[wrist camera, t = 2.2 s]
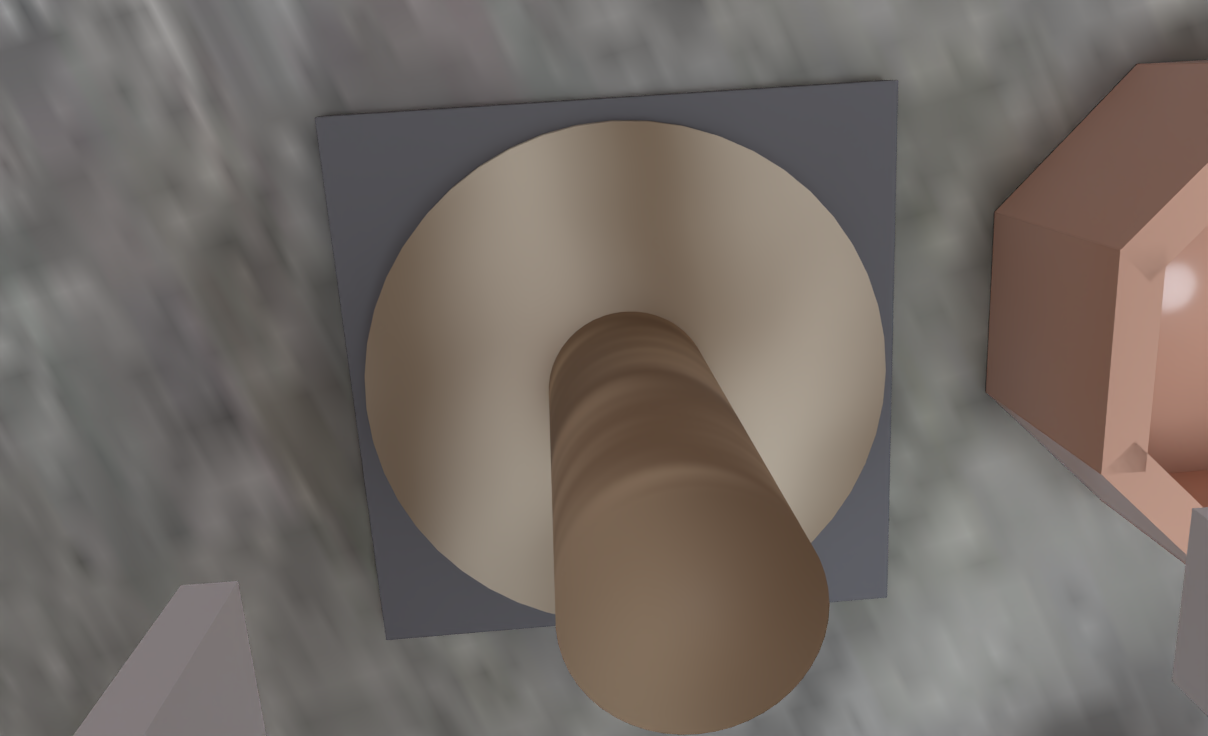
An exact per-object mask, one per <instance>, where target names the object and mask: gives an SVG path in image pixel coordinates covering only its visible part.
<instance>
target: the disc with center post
mask: <svg viewBox="0 0 1208 736" xmlns="http://www.w3.org/2000/svg"><path fill="white" fill-rule="evenodd" d="M885 375H886V363H885V342H884V334H883V328H882V323H881V318H880V312H879V307H878V303H877V300H876V297H875V294H874V291H873V288H872V285H871V282H870V279H869V276H868V274H867V272H866V270H865V268H864V266H863V264H862V262H861V260H860V258H859V256H858V254H857V252H856V250H855V248H854V246H853V244H852V243H851V241H850V240H849V238H848V237H847V235H846V234H845V232H844V231H843V229H842V228H841V227H840V225H839V224H838V222H837V221H836V219H835V218H834V216H833V215H832V214H831V213H830V212H829V211H828V210H827V209H826V208H825V207H824V206H823V204H822V203H821V202H820V201H819V200H818V199H817V198H816V197H815V196H814V195H813V194H812V192H811V191H809V190H808V189H807V188H806V187H804V186H803V185H802V184H801V183H800V182H798V181H797V180H796V179H795V178H794V177H792V176H791V175H790V174H789V173H788V172H786V171H785V170H784V169H782V168H781V167H779V166H777V165H776V164H774V163H772V162H771V161H769V160H768V159H766V158H764V157H763V156H761V155H759V154H758V153H756V152H754V151H752V150H750V149H748V148H745V147H743V146H741V145H739V144H736V143H734V142H732V141H729V140H727V139H725V138H723V137H720V136H717V135H714V134H710V133H707V132H703V131H700V130H696V129H693V128H689V127H686V126H682V125H676V124H669V123H662V122H654V121H647V120H610V121H602V122H595V123H587V124H579V125H574V126H571V127H567V128H563V129H559V130H556V131H552V132H548V133H545V134H542V135H539V136H537V137H534V138H532V139H530V140H527V141H525V142H523V143H520V144H518V145H516V146H513V147H511V148H509V149H507V150H505V151H504V152H502V153H500V154H499V155H497V156H495V157H494V158H492V159H490V160H489V161H487V162H485V163H483V164H482V165H480V166H479V167H477V168H476V169H475V170H474V171H472V172H471V173H470V174H469V175H467V176H466V177H465V178H463V179H462V180H461V181H460V182H458V183H457V184H456V185H455V186H453V187H452V188H451V189H450V190H449V191H448V192H447V193H446V194H445V195H444V196H443V198H442V199H441V200H440V201H439V202H438V203H437V204H436V205H435V206H434V207H433V208H432V209H431V210H430V211H429V212H428V213H427V214H426V216H425V217H424V218H423V220H422V221H421V222H420V224H419V225H418V226H417V228H416V229H415V231H414V232H413V233H412V235H411V236H410V237H409V239H408V240H407V242H406V243H405V244H404V246H403V247H402V249H401V251H400V253H399V255H398V257H397V258H396V260H395V262H394V264H393V266H392V268H391V270H390V271H389V273H388V275H387V277H386V280H385V282H384V285H383V288H382V290H381V293H380V296H379V299H378V301H377V304H376V307H375V309H374V314H373V318H372V323H371V327H370V332H369V337H368V341H367V351H366V364H365V392H366V408H367V414H368V419H369V424H370V429H371V434H372V439H373V443H374V446H375V448H376V451H377V454H378V457H379V460H380V463H381V466H382V468H383V471H384V474H385V475H386V477H387V479H388V481H389V483H390V485H391V487H392V489H393V491H394V493H395V495H396V497H397V499H398V501H399V502H400V504H401V505H402V507H403V508H404V510H405V511H406V512H407V514H408V515H409V517H410V518H411V520H412V521H413V522H414V524H415V525H416V527H417V528H418V529H419V530H420V531H421V532H422V533H423V535H424V536H425V537H426V538H427V539H428V540H429V541H430V542H431V543H432V544H433V546H434V547H435V548H436V549H437V550H438V551H439V552H440V553H441V554H443V555H444V556H445V557H446V558H447V559H449V560H450V561H451V562H452V563H453V564H454V565H456V566H457V567H458V568H459V569H460V570H462V571H463V572H464V573H466V574H467V575H469V576H471V577H472V578H474V579H475V580H477V581H478V582H480V583H481V584H483V585H484V586H486V587H487V588H489V589H491V590H493V591H495V592H497V593H499V594H501V595H503V596H505V597H507V598H510V599H512V600H514V601H516V602H518V603H521V604H524V605H527V606H530V607H533V608H535V609H538V610H541V611H544V612H547V613H552V614H555V620H556V633H557V639H558V644H559V648H560V651H561V654H562V657H563V660H564V662H565V664H566V666H567V668H568V670H569V672H570V674H571V675H572V677H573V678H574V680H575V681H576V683H577V684H578V686H579V687H580V688H581V689H582V690H583V691H584V693H585V694H586V695H587V696H588V697H589V698H590V699H591V700H592V701H593V702H595V703H596V704H597V705H598V706H599V707H601V708H602V709H603V710H605V711H606V712H608V713H610V714H611V715H613V716H614V717H616V718H618V719H620V720H622V721H624V722H626V723H629V724H631V725H634V726H637V727H640V728H643V729H646V730H650V731H655V732H660V733H667V734H679V735H684V734H702V733H708V732H715V731H719V730H723V729H727V728H730V727H733V726H736V725H739V724H741V723H744V722H746V721H749V720H751V719H753V718H754V717H756V716H758V715H760V714H762V713H764V712H765V711H767V710H768V709H770V708H771V707H773V706H774V705H776V704H777V703H778V702H780V701H781V700H782V699H783V698H784V697H785V696H787V695H788V694H789V693H790V692H791V691H792V690H793V689H794V688H795V687H796V685H797V684H798V683H799V682H800V681H801V680H802V679H803V677H804V676H805V674H806V673H807V672H808V670H809V669H810V667H811V666H812V664H813V662H814V660H815V658H816V656H817V655H818V653H819V650H820V648H821V645H822V642H823V640H824V637H825V633H826V628H827V624H828V617H829V590H828V585H827V580H826V575H825V572H824V569H823V566H822V564H821V561H820V559H819V557H818V555H817V553H816V551H815V549H814V548H813V546H812V544H811V542H812V541H813V540H814V539H815V538H816V537H817V536H818V535H819V533H820V532H821V531H822V530H823V529H824V528H825V527H826V525H827V524H828V523H829V522H830V521H831V520H832V519H833V517H834V516H835V514H836V513H837V511H838V510H839V508H840V507H841V506H842V504H843V503H844V501H845V500H846V498H847V497H848V495H849V494H850V492H851V491H852V489H853V487H854V485H855V483H856V481H857V479H858V477H859V475H860V473H861V471H862V469H863V467H864V465H865V463H866V460H867V458H868V455H869V452H870V449H871V447H872V444H873V441H874V438H875V436H876V432H877V428H878V423H879V419H880V414H881V410H882V405H883V398H884V386H885Z"/></svg>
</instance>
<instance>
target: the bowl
mask: <svg viewBox="0 0 1208 736" xmlns="http://www.w3.org/2000/svg"><path fill="white" fill-rule="evenodd" d="M994 213H995V217H994V237H993V258H992V278H991V299H990V319H989V339H988V360H987V380H986V393H987V394H989V395H990V396H991V397H992V398H993V399H994V400H995V401H996V402H997V403H998V404H999V405H1000V406H1001V407H1002V408H1004V409H1005V410H1006V411H1007V412H1008V413H1009V414H1010V415H1011V416H1012V417H1013V418H1014V419H1015V420H1016V421H1017V422H1018V423H1020V424H1021V425H1022V426H1023V427H1024V428H1025V429H1026V430H1027V431H1028V432H1029V433H1030V434H1031V435H1032V436H1033V437H1034V438H1036V439H1037V440H1038V441H1039V442H1040V443H1041V444H1042V445H1043V446H1044V447H1045V448H1046V449H1047V450H1048V451H1049V452H1050V453H1052V454H1053V455H1054V456H1055V457H1056V458H1057V459H1058V460H1059V461H1060V462H1061V463H1062V464H1063V465H1064V466H1065V467H1066V468H1068V469H1069V470H1070V471H1071V472H1072V473H1073V474H1074V475H1075V476H1076V477H1077V478H1078V479H1079V480H1080V481H1081V482H1082V483H1084V484H1085V485H1086V486H1087V487H1088V488H1089V489H1090V490H1091V491H1092V492H1093V493H1094V494H1095V495H1096V496H1097V497H1098V498H1100V500H1102V501H1103V502H1104V503H1105V504H1107V505H1108V506H1109V507H1111V508H1112V509H1113V510H1115V511H1116V512H1117V513H1119V514H1120V515H1121V516H1123V517H1124V518H1125V519H1126V520H1128V521H1129V522H1130V523H1132V524H1133V525H1134V526H1136V527H1137V528H1138V529H1140V530H1141V531H1142V532H1144V533H1145V534H1146V535H1148V536H1149V537H1150V538H1151V539H1153V540H1154V541H1155V542H1157V543H1158V544H1159V545H1161V546H1162V547H1163V548H1165V549H1166V550H1167V551H1169V552H1170V553H1171V554H1173V555H1174V556H1175V557H1176V558H1178V559H1179V560H1180V561H1182V562H1183V563H1184V564H1186V557H1187V549H1188V540H1189V532H1190V524H1191V515H1192V508H1202V507H1208V60H1194V61H1179V62H1163V63H1147V64H1137V65H1136V66H1135V67H1134V68H1133V69H1132V70H1131V71H1130V72H1129V73H1128V74H1127V75H1126V76H1125V77H1124V78H1123V79H1122V80H1121V81H1120V82H1119V83H1118V85H1117V86H1116V87H1115V88H1114V89H1113V90H1112V91H1111V92H1110V93H1109V94H1108V95H1107V96H1106V97H1105V98H1104V99H1103V100H1102V101H1101V102H1100V103H1099V104H1098V105H1097V106H1096V107H1095V108H1094V109H1093V110H1092V112H1091V113H1090V114H1089V115H1088V116H1087V117H1086V118H1085V119H1084V120H1083V121H1082V122H1081V123H1080V124H1079V125H1078V126H1077V127H1076V128H1075V129H1074V130H1073V131H1072V132H1071V133H1070V134H1069V135H1068V136H1067V137H1066V139H1065V140H1064V141H1063V142H1062V143H1061V144H1060V145H1059V146H1058V147H1057V148H1056V149H1055V150H1054V151H1053V152H1052V153H1051V154H1050V155H1049V156H1048V157H1047V158H1046V159H1045V160H1044V161H1043V162H1042V163H1041V164H1040V166H1039V167H1038V168H1037V169H1036V170H1035V171H1034V172H1033V173H1032V174H1031V175H1030V176H1029V177H1028V178H1027V179H1026V180H1025V181H1024V182H1023V183H1022V184H1021V185H1020V186H1019V187H1018V188H1017V189H1016V190H1015V191H1014V193H1013V194H1012V195H1011V196H1010V197H1009V198H1008V199H1007V200H1006V201H1005V202H1004V203H1003V204H1002V205H1001V206H1000V207H999V208H998V209H997V210H996V211H995V212H994Z"/></svg>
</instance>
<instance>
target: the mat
mask: <svg viewBox="0 0 1208 736" xmlns="http://www.w3.org/2000/svg"><path fill="white" fill-rule="evenodd" d="M897 112H898V80H880V81H864V82H849V83H833V84H817V85H801V86H786V87H770V88H754V89H739V90H723V91H707V92H691V93H676V94H660V95H644V96H629V97H613V98H597V99H581V100H566V101H550V102H534V103H519V104H503V105H487V106H471V107H456V108H440V109H424V110H409V111H393V112H377V113H362V114H346V115H330V116H321V117H315V122H316V130H317V137H318V144H319V151H320V159H321V166H322V173H323V181H324V188H325V195H326V203H327V210H328V217H329V225H330V232H331V239H332V247H333V254H334V261H335V269H336V276H337V283H338V290H339V298H340V305H341V312H342V320H343V327H344V334H345V342H346V349H347V356H348V364H349V371H350V378H351V386H352V393H353V400H354V408H355V415H356V422H357V429H358V437H359V444H360V451H361V459H362V466H363V473H364V481H365V488H366V495H367V503H368V510H369V517H370V525H371V532H372V539H373V547H374V554H375V561H376V568H377V576H378V583H379V590H380V598H381V605H382V612H383V620H384V627H385V634H386V640H393V639H405V638H417V637H428V636H440V635H452V634H464V633H475V632H487V631H499V630H510V629H522V628H534V627H546V626H556V620H555V614H552V613H547V612H544V611H541V610H538V609H535V608H533V607H530V606H527V605H524V604H521V603H518V602H516V601H514V600H512V599H510V598H507V597H505V596H503V595H501V594H499V593H497V592H495V591H493V590H491V589H489V588H487V587H486V586H484V585H483V584H481V583H480V582H478V581H477V580H475V579H474V578H472V577H471V576H469V575H467V574H466V573H464V572H463V571H462V570H460V569H459V568H458V567H457V566H456V565H454V564H453V563H452V562H451V561H450V560H449V559H447V558H446V557H445V556H444V555H443V554H441V553H440V552H439V551H438V550H437V549H436V548H435V547H434V546H433V544H432V543H431V542H430V541H429V540H428V539H427V538H426V537H425V536H424V535H423V533H422V532H421V531H420V530H419V529H418V528H417V527H416V525H415V524H414V522H413V521H412V520H411V518H410V517H409V515H408V514H407V512H406V511H405V510H404V508H403V507H402V505H401V504H400V502H399V501H398V499H397V497H396V495H395V493H394V491H393V489H392V487H391V485H390V483H389V481H388V479H387V477H386V475H385V474H384V471H383V468H382V466H381V463H380V460H379V457H378V454H377V451H376V448H375V446H374V443H373V439H372V434H371V429H370V424H369V419H368V414H367V408H366V392H365V364H366V351H367V341H368V337H369V332H370V327H371V323H372V318H373V314H374V309H375V307H376V304H377V301H378V299H379V296H380V293H381V290H382V288H383V285H384V282H385V280H386V277H387V275H388V273H389V271H390V270H391V268H392V266H393V264H394V262H395V260H396V258H397V257H398V255H399V253H400V251H401V249H402V247H403V246H404V244H405V243H406V242H407V240H408V239H409V237H410V236H411V235H412V233H413V232H414V231H415V229H416V228H417V226H418V225H419V224H420V222H421V221H422V220H423V218H424V217H425V216H426V214H427V213H428V212H429V211H430V210H431V209H432V208H433V207H434V206H435V205H436V204H437V203H438V202H439V201H440V200H441V199H442V198H443V196H444V195H445V194H446V193H447V192H448V191H449V190H450V189H451V188H452V187H453V186H455V185H456V184H457V183H458V182H460V181H461V180H462V179H463V178H465V177H466V176H467V175H469V174H470V173H471V172H472V171H474V170H475V169H476V168H477V167H479V166H480V165H482V164H483V163H485V162H487V161H489V160H490V159H492V158H494V157H495V156H497V155H499V154H500V153H502V152H504V151H505V150H507V149H509V148H511V147H513V146H516V145H518V144H520V143H523V142H525V141H527V140H530V139H532V138H534V137H537V136H539V135H542V134H545V133H548V132H552V131H556V130H559V129H563V128H567V127H571V126H574V125H579V124H587V123H595V122H602V121H610V120H647V121H654V122H662V123H669V124H676V125H682V126H686V127H689V128H693V129H696V130H700V131H703V132H707V133H710V134H714V135H717V136H720V137H723V138H725V139H727V140H729V141H732V142H734V143H736V144H739V145H741V146H743V147H745V148H748V149H750V150H752V151H754V152H756V153H758V154H759V155H761V156H763V157H764V158H766V159H768V160H769V161H771V162H772V163H774V164H776V165H777V166H779V167H781V168H782V169H784V170H785V171H786V172H788V173H789V174H790V175H791V176H792V177H794V178H795V179H796V180H797V181H798V182H800V183H801V184H802V185H803V186H804V187H806V188H807V189H808V190H809V191H811V192H812V194H813V195H814V196H815V197H816V198H817V199H818V200H819V201H820V202H821V203H822V204H823V206H824V207H825V208H826V209H827V210H828V211H829V212H830V213H831V214H832V215H833V216H834V218H835V219H836V221H837V222H838V224H839V225H840V227H841V228H842V229H843V231H844V232H845V234H846V235H847V237H848V238H849V240H850V241H851V243H852V244H853V246H854V248H855V250H856V252H857V254H858V256H859V258H860V260H861V262H862V264H863V266H864V268H865V270H866V272H867V274H868V276H869V279H870V282H871V285H872V288H873V291H874V294H875V297H876V300H877V303H878V307H879V312H880V318H881V323H882V328H883V334H884V342H885V363H886V375H885V386H884V398H883V405H882V410H881V414H880V419H879V423H878V428H877V432H876V436H875V438H874V441H873V444H872V447H871V449H870V452H869V455H868V458H867V460H866V463H865V465H864V467H863V469H862V471H861V473H860V475H859V477H858V479H857V481H856V483H855V485H854V487H853V489H852V491H851V492H850V494H849V495H848V497H847V498H846V500H845V501H844V503H843V504H842V506H841V507H840V508H839V510H838V511H837V513H836V514H835V516H834V517H833V519H832V520H831V521H830V522H829V523H828V524H827V525H826V527H825V528H824V529H823V530H822V531H821V532H820V533H819V535H818V536H817V537H816V538H815V539H814V540H813V541H812V542H811V544H812V546H813V548H814V549H815V551H816V553H817V555H818V557H819V559H820V561H821V564H822V566H823V569H824V572H825V575H826V580H827V585H828V590H829V602H839V601H850V600H862V599H874V598H886V597H887V579H888V532H889V485H890V439H891V392H892V345H893V299H894V252H895V205H896V159H897Z"/></svg>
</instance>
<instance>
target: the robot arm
mask: <svg viewBox="0 0 1208 736" xmlns="http://www.w3.org/2000/svg"><path fill="white" fill-rule="evenodd" d="M1172 681H1173V682H1174V683H1175V684H1176V685H1177V686H1178V687H1179V688H1180V689H1181V690H1182V691H1183V692H1184V693H1185V694H1186V695H1187V696H1188V697H1189V698H1190V699H1191V700H1192V701H1193V702H1194V703H1195V704H1196V705H1197V706H1198V707H1199V708H1200V709H1201V710H1202V711H1203V712H1204V713H1205V714H1206V715H1207V716H1208V507H1202V508H1192V515H1191V524H1190V532H1189V540H1188V549H1187V557H1186V566H1185V574H1184V583H1183V591H1182V600H1181V608H1180V617H1179V625H1178V633H1177V642H1176V650H1175V659H1174V667H1173V676H1172ZM73 736H266V730H265V725H264V719H263V714H262V709H261V703H260V698H259V692H258V687H257V681H256V676H255V670H254V665H253V659H252V654H251V648H250V643H249V637H248V632H247V627H246V621H245V616H244V610H243V605H242V599H241V594H240V588H239V583H238V581H229V582H216V583H203V584H190V585H181V586H180V587H179V588H178V590H177V591H176V593H175V594H174V595H173V597H172V598H171V600H170V601H169V602H168V604H167V605H166V607H165V608H164V609H163V611H162V612H161V614H160V615H159V616H158V618H157V619H156V621H155V622H154V623H153V625H152V626H151V627H150V629H149V630H148V632H147V633H146V634H145V636H144V637H143V639H142V640H141V641H140V643H139V644H138V646H137V647H136V648H135V650H134V651H133V653H132V654H131V655H130V657H129V658H128V660H127V661H126V662H125V664H124V665H123V667H122V668H121V669H120V671H119V672H118V674H117V675H116V676H115V678H114V679H113V680H112V682H111V683H110V685H109V686H108V687H107V689H106V690H105V692H104V693H103V694H102V696H101V697H100V699H99V700H98V701H97V703H96V704H95V706H94V707H93V708H92V710H91V711H90V713H89V714H88V715H87V717H86V718H85V720H84V721H83V722H82V724H81V725H80V727H79V728H78V729H77V731H76V732H75V733H74V735H73Z"/></svg>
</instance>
